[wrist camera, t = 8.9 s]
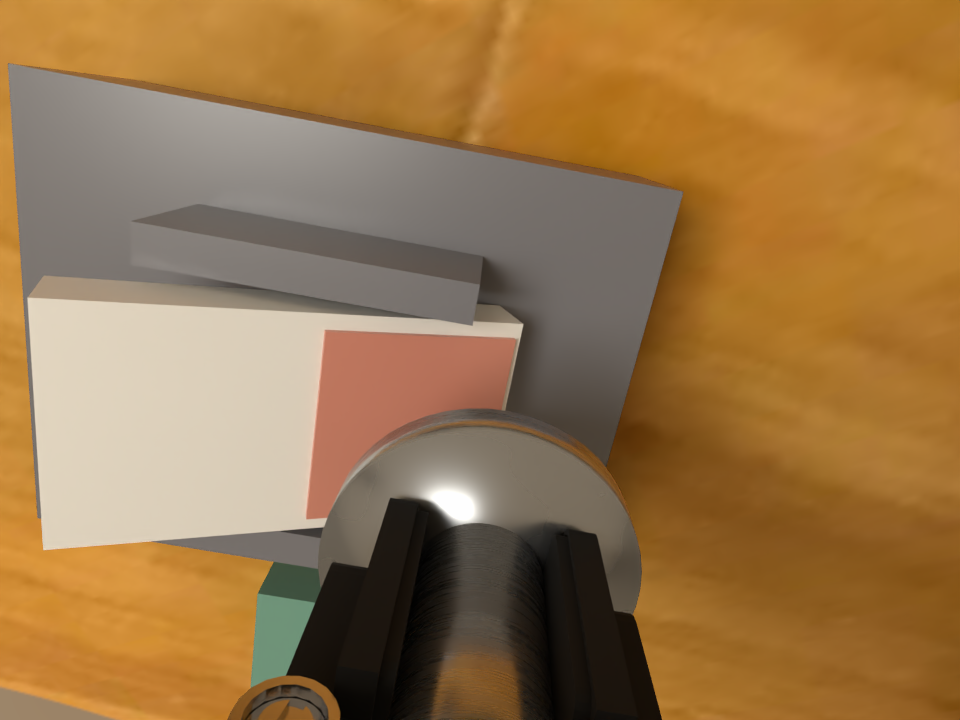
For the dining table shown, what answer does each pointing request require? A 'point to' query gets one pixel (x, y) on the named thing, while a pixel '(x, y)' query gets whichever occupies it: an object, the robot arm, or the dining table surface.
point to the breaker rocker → (230, 402)
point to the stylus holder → (282, 618)
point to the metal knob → (482, 553)
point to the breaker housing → (341, 233)
